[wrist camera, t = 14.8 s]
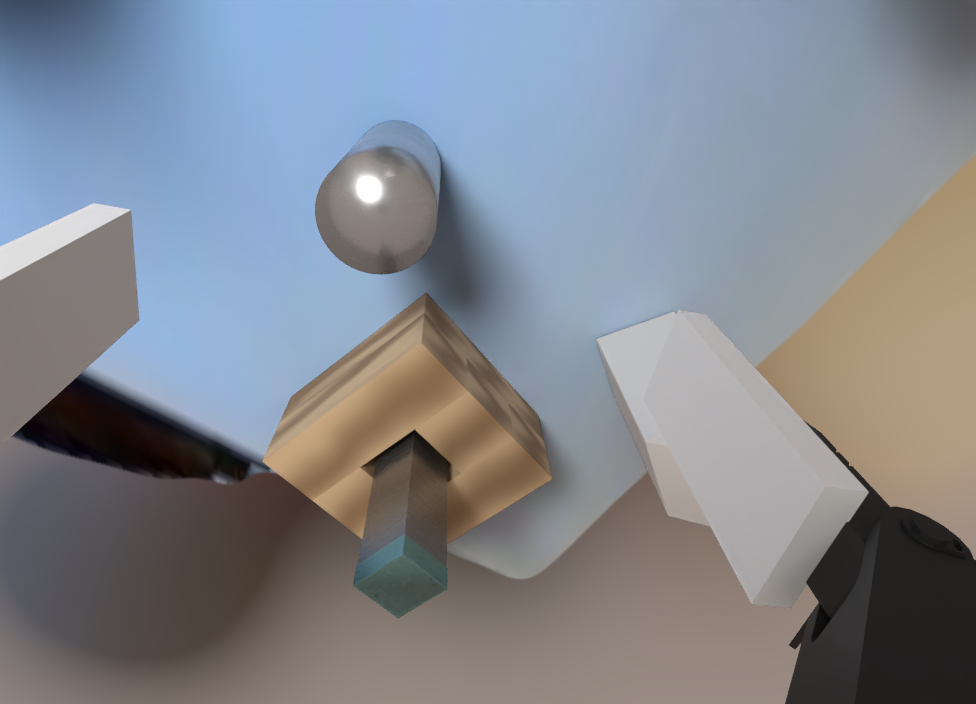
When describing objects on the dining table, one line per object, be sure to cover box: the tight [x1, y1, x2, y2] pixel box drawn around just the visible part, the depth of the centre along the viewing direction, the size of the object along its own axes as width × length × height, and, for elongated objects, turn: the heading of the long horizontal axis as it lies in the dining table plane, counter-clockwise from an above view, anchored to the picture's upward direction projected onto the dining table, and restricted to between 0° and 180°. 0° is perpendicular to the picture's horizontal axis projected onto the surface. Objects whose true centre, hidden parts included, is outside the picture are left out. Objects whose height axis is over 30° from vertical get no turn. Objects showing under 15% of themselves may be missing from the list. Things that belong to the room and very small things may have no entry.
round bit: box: [315, 120, 441, 274], centre depth 37 cm, size 6×6×14 cm
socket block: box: [262, 293, 553, 544], centre depth 49 cm, size 16×16×9 cm
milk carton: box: [596, 312, 710, 526], centre depth 44 cm, size 7×7×19 cm
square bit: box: [353, 429, 448, 618], centre depth 43 cm, size 4×4×16 cm
